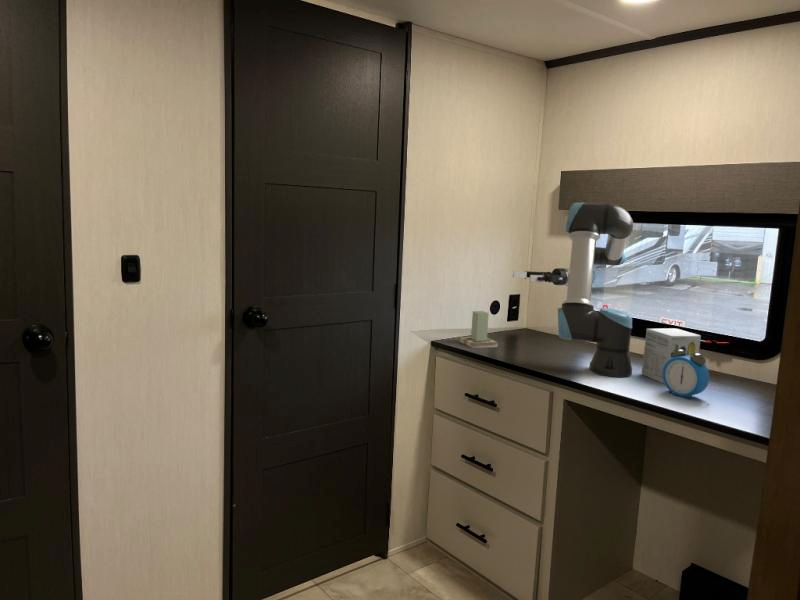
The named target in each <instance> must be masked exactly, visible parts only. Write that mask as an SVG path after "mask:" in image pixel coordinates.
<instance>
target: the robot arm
mask: <svg viewBox="0 0 800 600" xmlns="http://www.w3.org/2000/svg"><path fill="white" fill-rule="evenodd" d="M569 207H570V208H569V210H568V216H567V219H566V220H567V221H566V226H565V232H566V233H568V238H569V239H570V240H571V241H572V242H571V252H570V262H569V267H568V268H567V267H564V268H563V267H562V268H561V267H560V268H559V267H558V268H556V267H555V268H554V269H553V270H552V271H529V270H524V271H513V273H512V278H514V279H515V278H516V279H520V278H521V279H525V280H526V279H527V278H529V282H531V283H533V282H534V283H535V282H538V283H540V282H541V283H543V282H545V283H552V284H553V285H555V286H566V287H567V292H566V299H565V301H563V302H562V303H561V307H559V308H557V324H558V325H557V327H558V336H559V338H560V339H562V340H568V341H577V342H587V343H595V344H596V345H595V346H596V347H595V351H594V353H593V356H592V358H591V361H590V362H589V366H588V369H589V371H590V372H593V373H594V374H598V375H602V376H606V377H613V378H615V377H616V378H624V377H625V378H627V377H630V376H632V374H633V367H632V361H631V357H630V349H631V348H630V346H631V335H632V329H633V317H632V316H631V314H629V313H628V312H625V311H622V310H619V309H614V308H609V307H601V308H599V310H598V311H594V309H595V307H594V305H593V303H592V302H591V296H592V295H591V294H592V285H593V284H594V283H595V280H596V272H595V270H594V265H604V266H613V265H620V264H623V263H624V262H626V263H627V260H626V258H627V257H628V255H627V256H626V254H625V253H624V249H625V247H626V244H627V241H628V237H630V235H631V234H632V232H633V228H634V221H633V218H632V217H631V215H630V213H629V212H628V211H627V210H626V209H625V208H623V207H622V206H619V205H618V204H614V203H600V202H598V203H594V202H573V203H572V204H571V205H570V206H569ZM601 235H607V240H606V245H605V247H600V246H599V247H597V246H596V242H597V241H599V240H600V238H601Z"/></svg>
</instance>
